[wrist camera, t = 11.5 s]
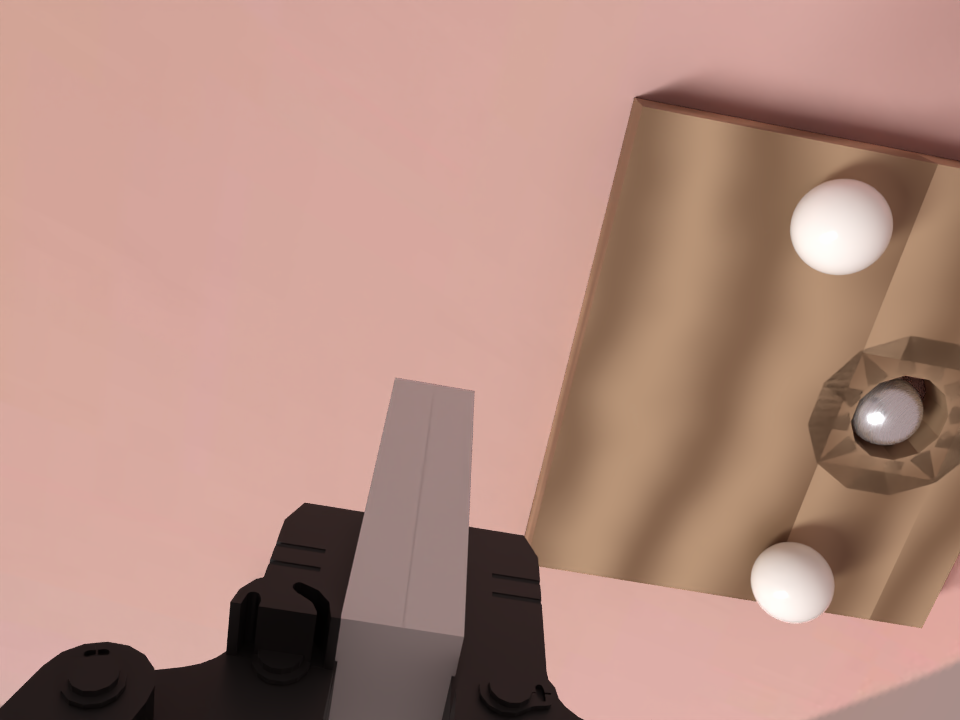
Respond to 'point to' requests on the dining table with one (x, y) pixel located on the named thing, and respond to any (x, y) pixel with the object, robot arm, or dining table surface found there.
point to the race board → (757, 373)
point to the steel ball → (888, 413)
